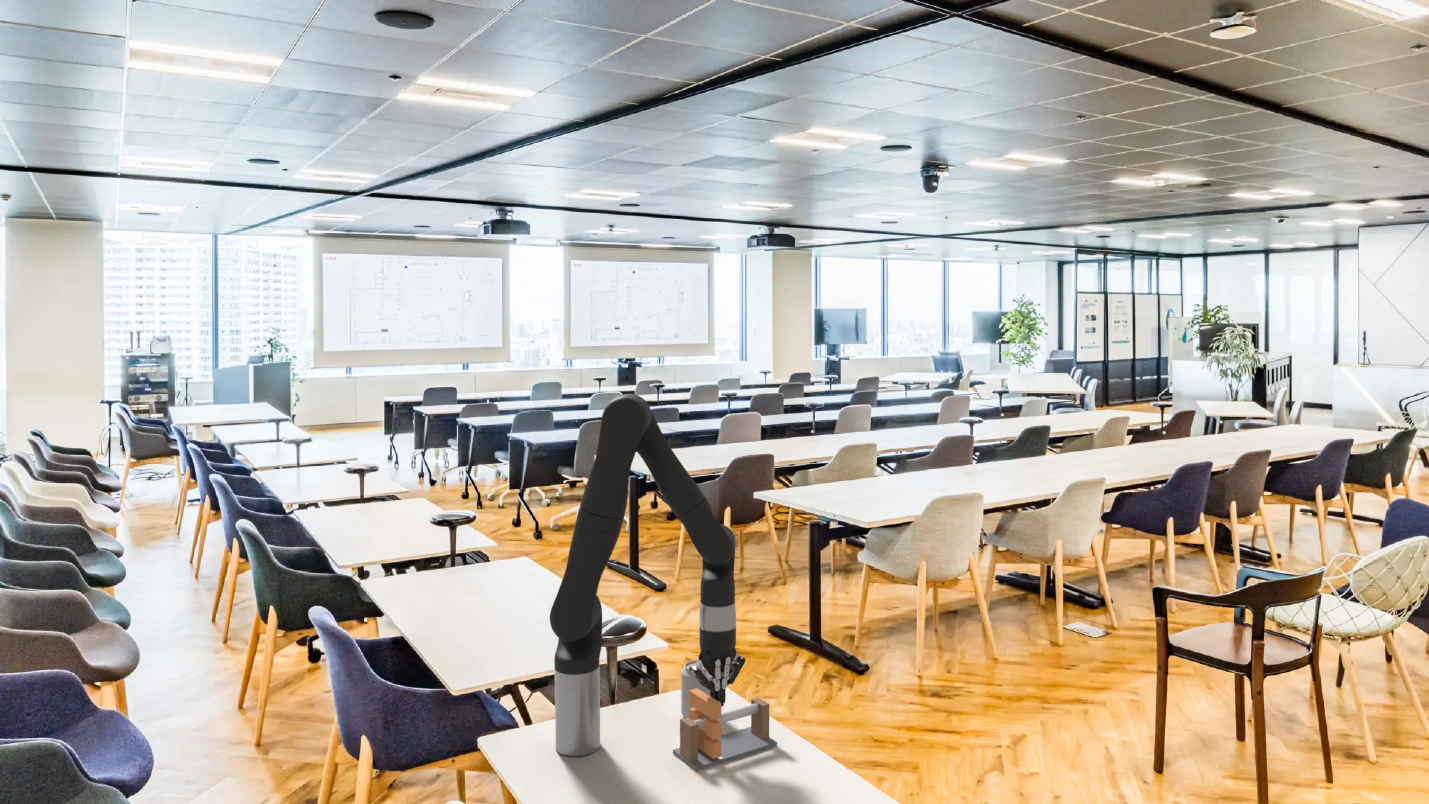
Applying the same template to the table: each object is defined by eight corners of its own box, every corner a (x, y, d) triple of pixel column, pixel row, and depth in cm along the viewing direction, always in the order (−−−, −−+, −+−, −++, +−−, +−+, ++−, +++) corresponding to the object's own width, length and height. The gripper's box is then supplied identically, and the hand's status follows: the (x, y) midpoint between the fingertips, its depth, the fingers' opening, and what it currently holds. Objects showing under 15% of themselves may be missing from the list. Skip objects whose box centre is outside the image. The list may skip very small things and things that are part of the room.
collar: (712, 759, 182) (712, 705, 181) (689, 741, 189) (689, 690, 188) (721, 756, 183) (721, 703, 182) (697, 739, 190) (697, 688, 189)
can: (677, 721, 202) (677, 668, 201) (686, 707, 210) (686, 656, 209) (710, 724, 201) (710, 671, 200) (717, 710, 208) (718, 659, 207)
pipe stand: (696, 771, 179) (696, 731, 179) (672, 753, 187) (672, 714, 186) (777, 745, 190) (777, 707, 190) (751, 729, 198) (752, 693, 197)
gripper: (734, 613, 192) (733, 692, 194) (680, 624, 185) (680, 707, 186) (754, 622, 186) (754, 705, 187) (700, 635, 179) (700, 720, 180)
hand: (717, 705), depth 187 cm, fingers closed
